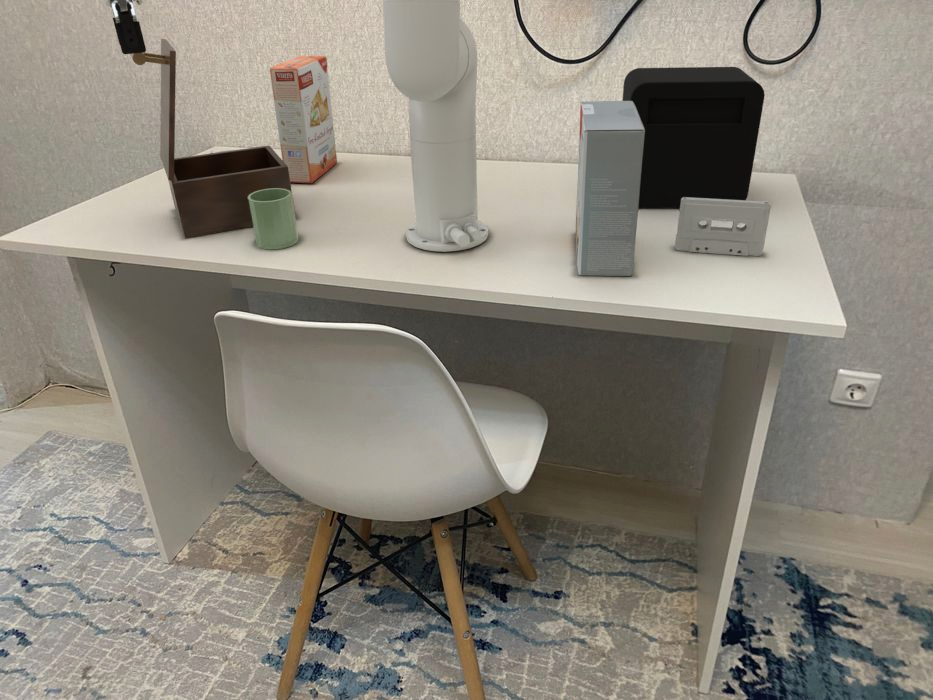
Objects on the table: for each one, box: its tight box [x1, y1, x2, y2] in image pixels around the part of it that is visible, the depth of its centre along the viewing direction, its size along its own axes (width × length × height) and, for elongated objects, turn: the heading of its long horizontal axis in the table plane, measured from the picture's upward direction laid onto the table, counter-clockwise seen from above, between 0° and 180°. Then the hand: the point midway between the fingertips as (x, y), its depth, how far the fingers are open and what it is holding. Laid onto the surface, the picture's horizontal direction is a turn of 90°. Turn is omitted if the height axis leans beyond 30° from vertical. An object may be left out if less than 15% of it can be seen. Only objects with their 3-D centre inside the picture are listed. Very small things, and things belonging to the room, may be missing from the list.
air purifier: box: [621, 66, 765, 209], centre depth 123 cm, size 20×15×20 cm
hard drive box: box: [575, 100, 645, 277], centre depth 101 cm, size 16×8×20 cm, turn 174°
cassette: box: [674, 197, 772, 257], centre depth 104 cm, size 12×2×8 cm, turn 75°
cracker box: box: [269, 55, 338, 184], centre depth 140 cm, size 14×6×21 cm, turn 168°
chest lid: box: [130, 38, 177, 181], centre depth 113 cm, size 19×15×5 cm
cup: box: [247, 188, 299, 251], centre depth 113 cm, size 6×6×8 cm
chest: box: [167, 145, 297, 239], centre depth 124 cm, size 18×15×9 cm
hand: (132, 49), depth 109 cm, fingers open, 9 cm apart
